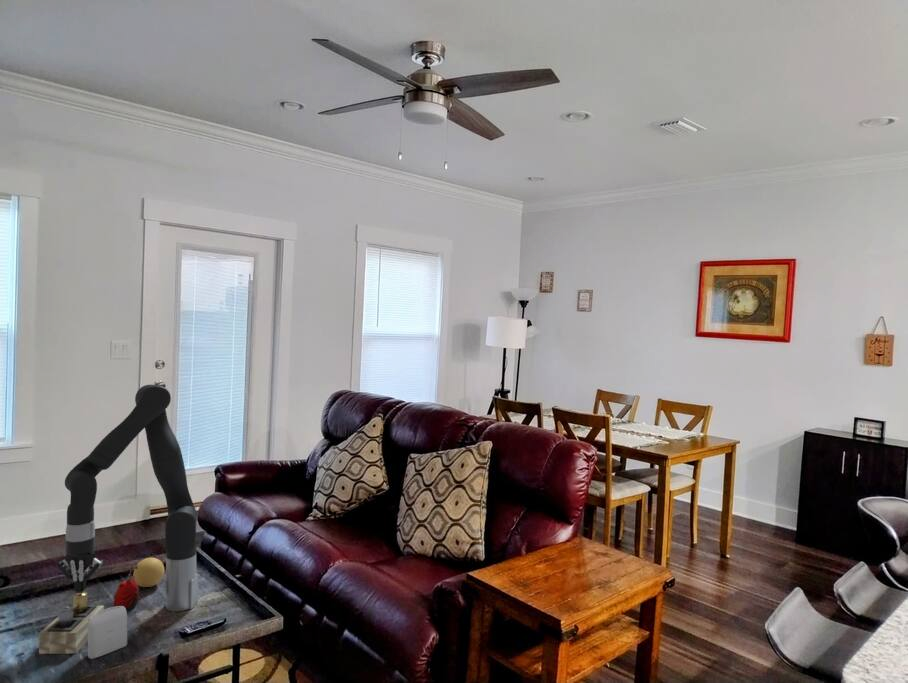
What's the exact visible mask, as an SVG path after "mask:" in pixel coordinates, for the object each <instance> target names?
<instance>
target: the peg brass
mask: <svg viewBox="0 0 908 683" xmlns="http://www.w3.org/2000/svg"><path fill="white" fill-rule="evenodd" d="M72 596H73V600H72V601H73V604H72V605H73V614H84V613H85V612H86V611H87V605H88V592H87V591H85V590H84V591H83V592H82V593H76V592H75V593H74V594H73V595H72Z"/></svg>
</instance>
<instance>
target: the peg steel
mask: <svg viewBox="0 0 908 683" xmlns="http://www.w3.org/2000/svg"><path fill="white" fill-rule="evenodd" d="M57 617H58V628H70V627H71V626H72V625H73V604H72V603H65V604H62V605H60V606H59V607H57Z"/></svg>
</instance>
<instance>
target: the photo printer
mask: <svg viewBox="0 0 908 683" xmlns="http://www.w3.org/2000/svg"><path fill="white" fill-rule="evenodd" d="M127 613H128V612H127V610H126V608H125V607H124V606H115V607H114V606H110V607H107V608H104V610H102V611H100V612H98V613H96V614H94V615H92V616H91V617H90V618H88V641H87V657H88V658H89V659H91V660H93V659H97V658H99V657H102V656H104V655H107V654H110V653H113V652H114V651H118V650H119V649H122V648H125V647H126V646H127V645H128V614H127Z"/></svg>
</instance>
